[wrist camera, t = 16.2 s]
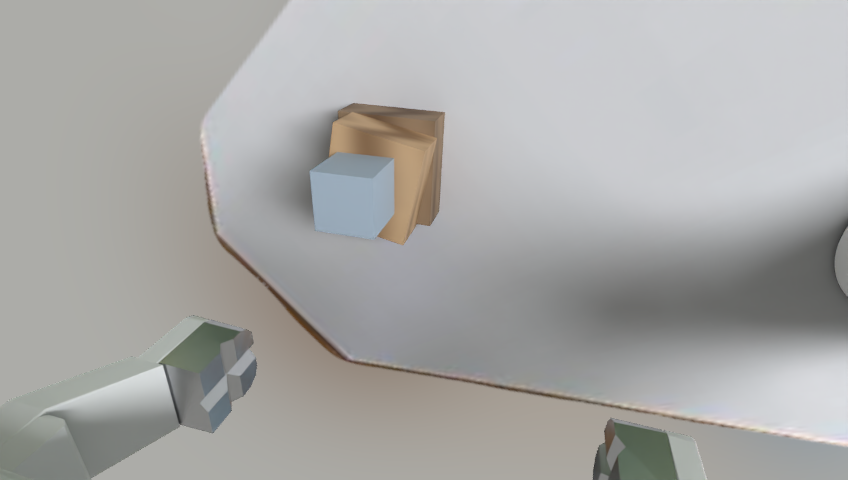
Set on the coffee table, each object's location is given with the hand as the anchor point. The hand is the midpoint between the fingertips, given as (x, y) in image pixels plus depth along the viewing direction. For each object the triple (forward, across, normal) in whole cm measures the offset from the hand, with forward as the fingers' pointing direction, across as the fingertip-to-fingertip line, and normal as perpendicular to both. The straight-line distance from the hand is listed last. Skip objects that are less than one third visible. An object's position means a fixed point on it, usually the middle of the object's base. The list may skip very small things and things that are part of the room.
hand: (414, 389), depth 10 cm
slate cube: (+28, +12, +7) cm, 31 cm away
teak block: (+32, +12, +7) cm, 34 cm away
